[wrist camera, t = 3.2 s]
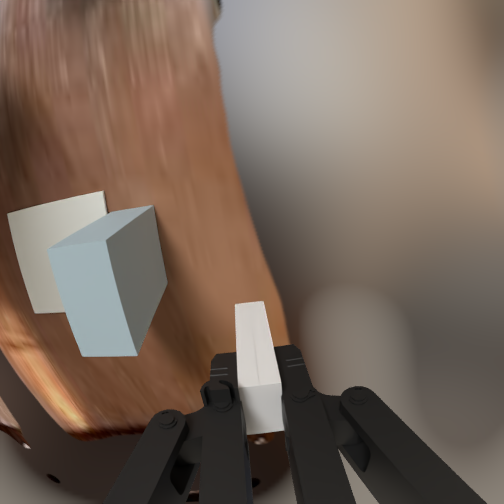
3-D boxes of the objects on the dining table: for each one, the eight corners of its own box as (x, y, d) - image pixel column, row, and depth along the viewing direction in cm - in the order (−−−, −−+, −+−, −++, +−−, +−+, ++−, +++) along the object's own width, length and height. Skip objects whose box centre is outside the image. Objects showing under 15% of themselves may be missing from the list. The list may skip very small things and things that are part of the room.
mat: (36, 312, 35) (34, 313, 34) (8, 213, 30) (7, 213, 30) (128, 306, 35) (128, 308, 35) (103, 190, 31) (102, 190, 30)
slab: (127, 287, 34) (82, 356, 21) (111, 211, 32) (46, 249, 18) (167, 283, 35) (137, 355, 21) (153, 205, 32) (105, 240, 19)
